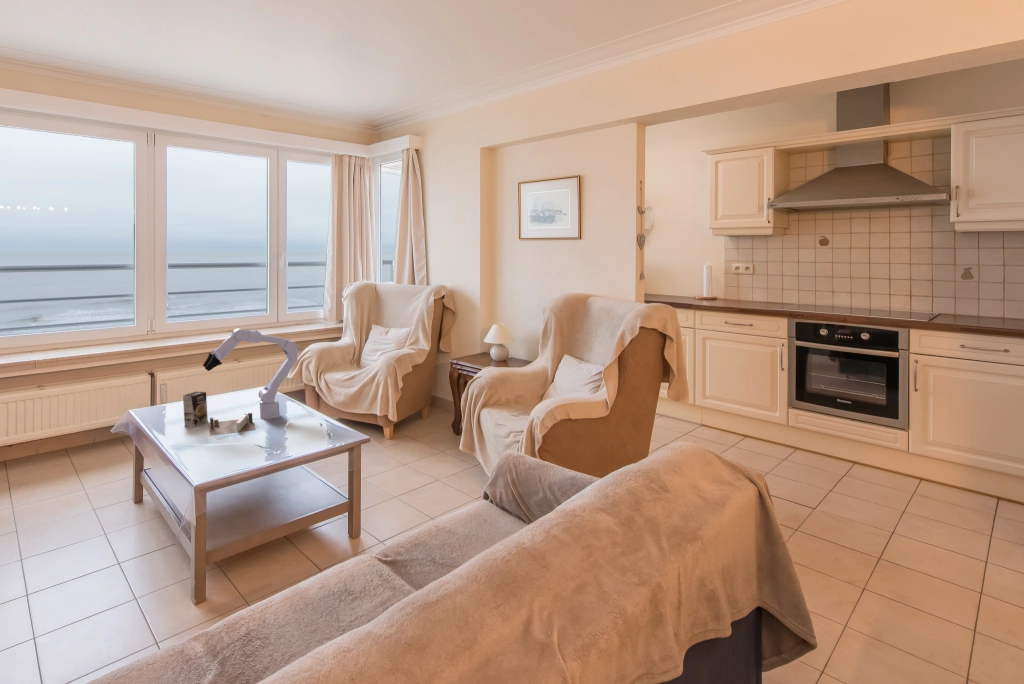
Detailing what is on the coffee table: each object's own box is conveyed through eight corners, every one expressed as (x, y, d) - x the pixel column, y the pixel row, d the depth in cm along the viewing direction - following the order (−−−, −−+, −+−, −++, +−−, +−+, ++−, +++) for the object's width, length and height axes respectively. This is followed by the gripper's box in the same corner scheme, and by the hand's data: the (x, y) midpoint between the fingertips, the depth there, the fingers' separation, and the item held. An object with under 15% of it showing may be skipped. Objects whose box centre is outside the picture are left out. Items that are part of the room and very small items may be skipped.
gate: (245, 421, 287) (244, 413, 287) (248, 421, 288) (247, 413, 287) (236, 431, 272) (236, 422, 272) (239, 431, 273) (239, 422, 272)
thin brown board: (250, 419, 295) (250, 409, 294) (256, 431, 277) (255, 420, 276) (208, 424, 285) (207, 413, 284) (210, 437, 266) (209, 426, 265)
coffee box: (195, 427, 280) (193, 396, 277) (184, 426, 281) (182, 395, 278) (208, 422, 289) (206, 391, 286) (197, 421, 290) (195, 390, 287)
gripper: (217, 340, 284) (196, 360, 280) (222, 345, 273) (200, 366, 269) (228, 349, 288) (208, 369, 284) (233, 354, 276) (213, 375, 272)
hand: (205, 368), depth 276 cm, fingers open, 7 cm apart
